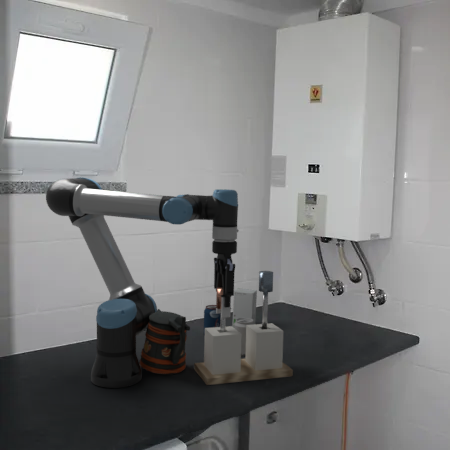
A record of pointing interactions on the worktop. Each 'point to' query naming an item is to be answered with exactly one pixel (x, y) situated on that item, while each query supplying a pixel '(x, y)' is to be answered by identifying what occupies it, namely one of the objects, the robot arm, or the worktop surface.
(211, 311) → the soda can
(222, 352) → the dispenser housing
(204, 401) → the worktop surface
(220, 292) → the plunger
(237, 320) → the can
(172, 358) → the beer stein
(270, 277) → the plunger
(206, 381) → the base board
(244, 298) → the skincare box
